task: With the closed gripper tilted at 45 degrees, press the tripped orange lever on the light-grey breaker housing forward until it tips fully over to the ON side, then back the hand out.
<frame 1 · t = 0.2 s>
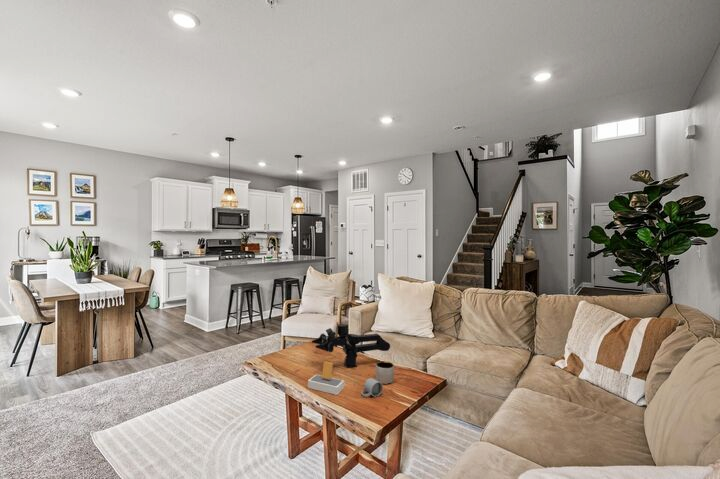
hand: (313, 344, 205), 17 cm above the table, tool horizontal, fingers open, 9 cm apart
breaker housing: (325, 387, 183), on the table
planter: (384, 380, 195), on the table
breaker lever: (327, 370, 184), point 9 cm above the table, hinge at -12.0°
ceramic mug: (371, 394, 178), on the table
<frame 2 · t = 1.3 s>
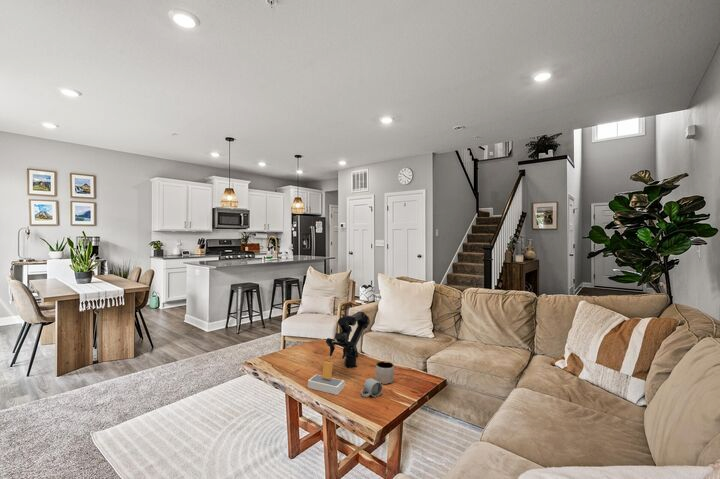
hand: (336, 357, 195), 13 cm above the table, tool tilted 45°, fingers open, 8 cm apart
nothing on the table moved.
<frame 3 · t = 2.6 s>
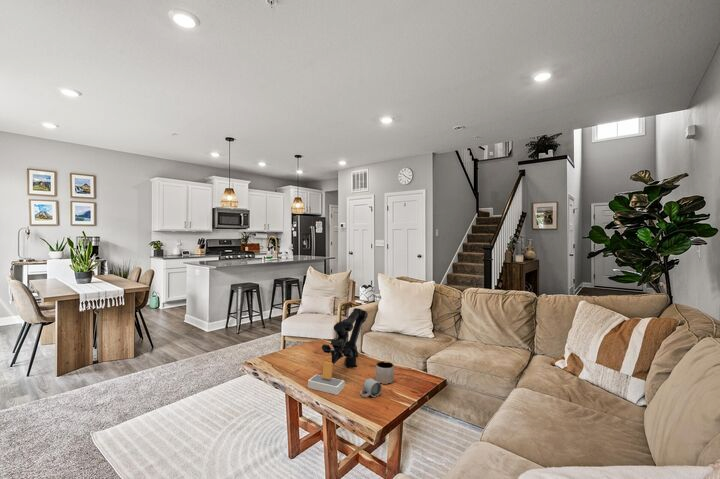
hand: (332, 364, 190), 11 cm above the table, tool tilted 45°, fingers closed
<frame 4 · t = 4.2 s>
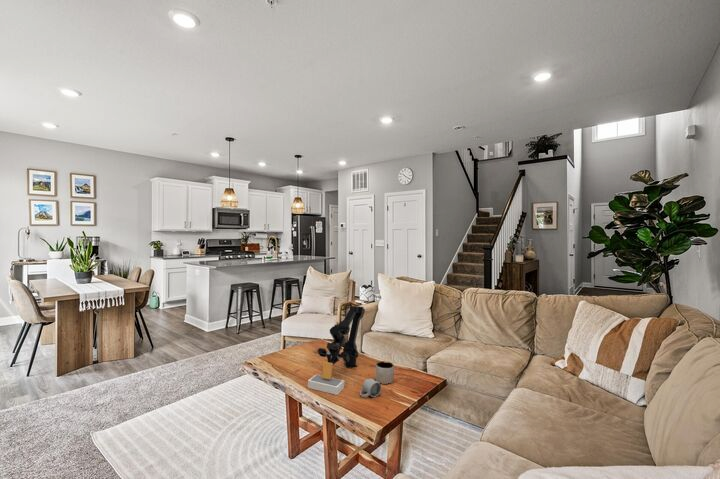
hand: (328, 368, 185), 10 cm above the table, tool tilted 45°, fingers closed, pressing on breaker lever
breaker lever: (327, 370, 184), point 9 cm above the table, hinge at -9.3°, touching gripper
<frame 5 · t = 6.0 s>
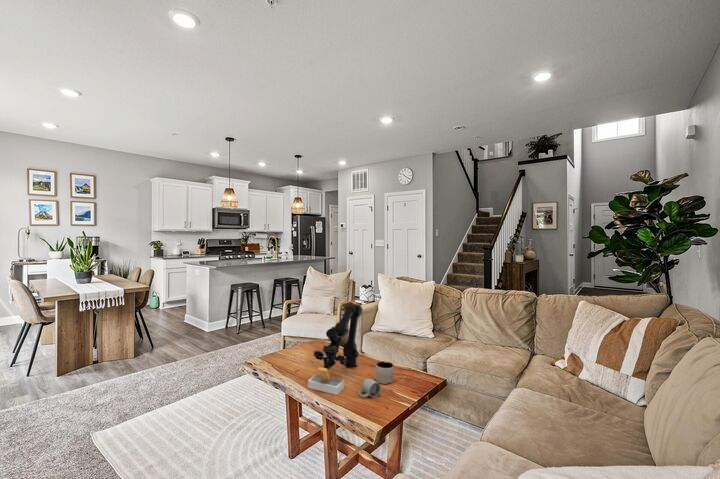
hand: (324, 372, 181), 10 cm above the table, tool tilted 45°, fingers closed, pressing on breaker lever
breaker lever: (324, 374, 181), point 9 cm above the table, hinge at 31.8°, touching gripper
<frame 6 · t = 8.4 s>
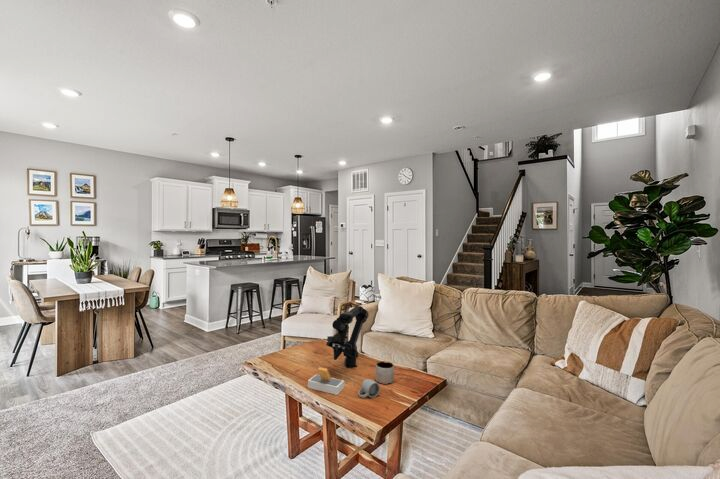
hand: (334, 359, 195), 11 cm above the table, tool tilted 30°, fingers closed
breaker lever: (324, 374, 181), point 9 cm above the table, hinge at 31.9°
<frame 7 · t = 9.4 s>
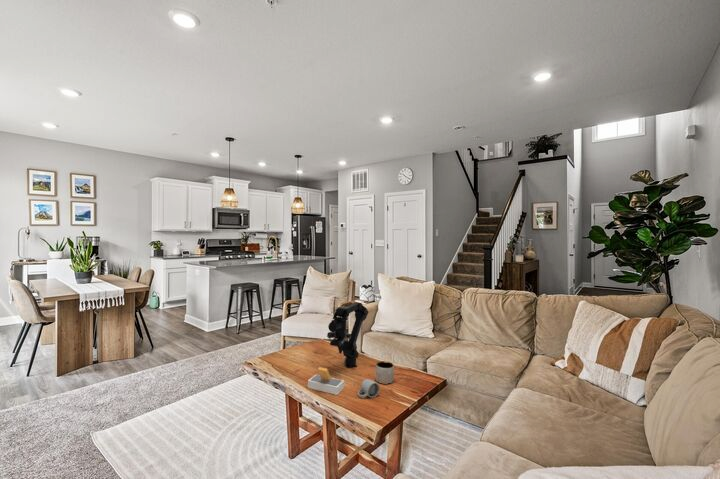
hand: (340, 353, 204), 12 cm above the table, tool pointing down, fingers closed
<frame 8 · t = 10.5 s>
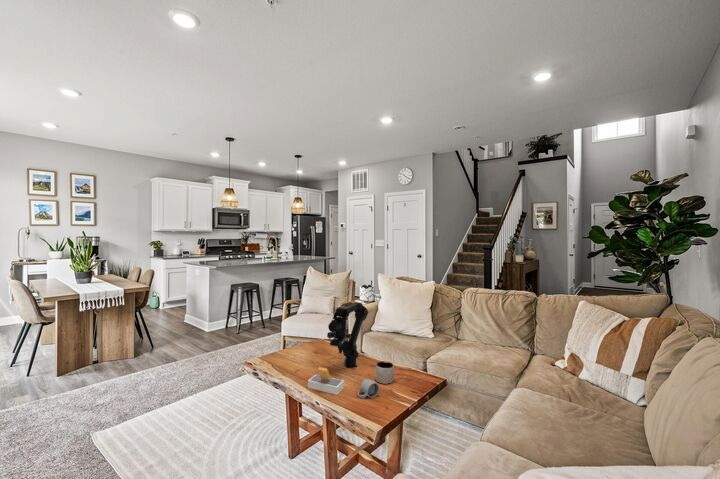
hand: (340, 353, 204), 12 cm above the table, tool pointing down, fingers closed
at the end: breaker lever at +32° (first picture: -12°); planter moved 0.3 cm from its start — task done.
